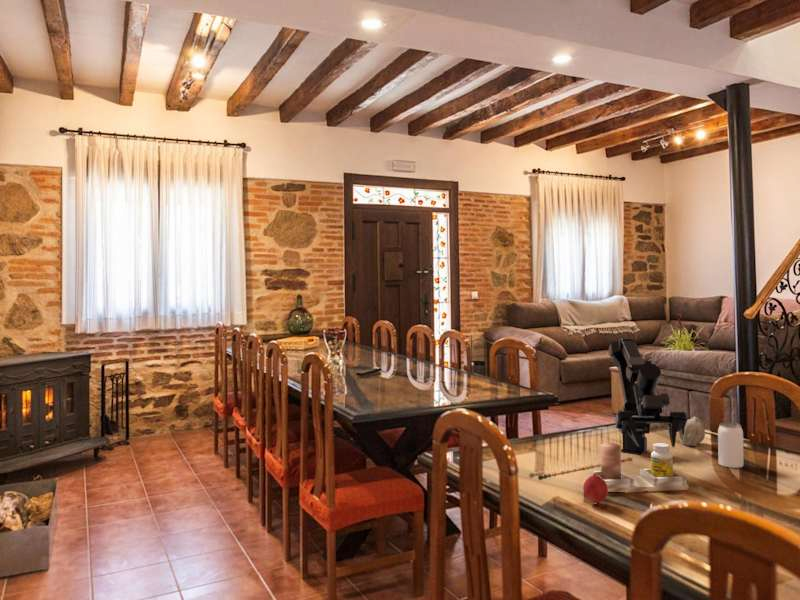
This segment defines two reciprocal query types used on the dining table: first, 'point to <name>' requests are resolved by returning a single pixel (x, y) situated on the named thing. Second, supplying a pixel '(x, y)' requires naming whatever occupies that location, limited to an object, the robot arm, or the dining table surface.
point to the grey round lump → (692, 432)
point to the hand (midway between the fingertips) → (656, 446)
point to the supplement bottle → (661, 461)
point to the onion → (595, 488)
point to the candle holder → (623, 482)
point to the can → (730, 445)
